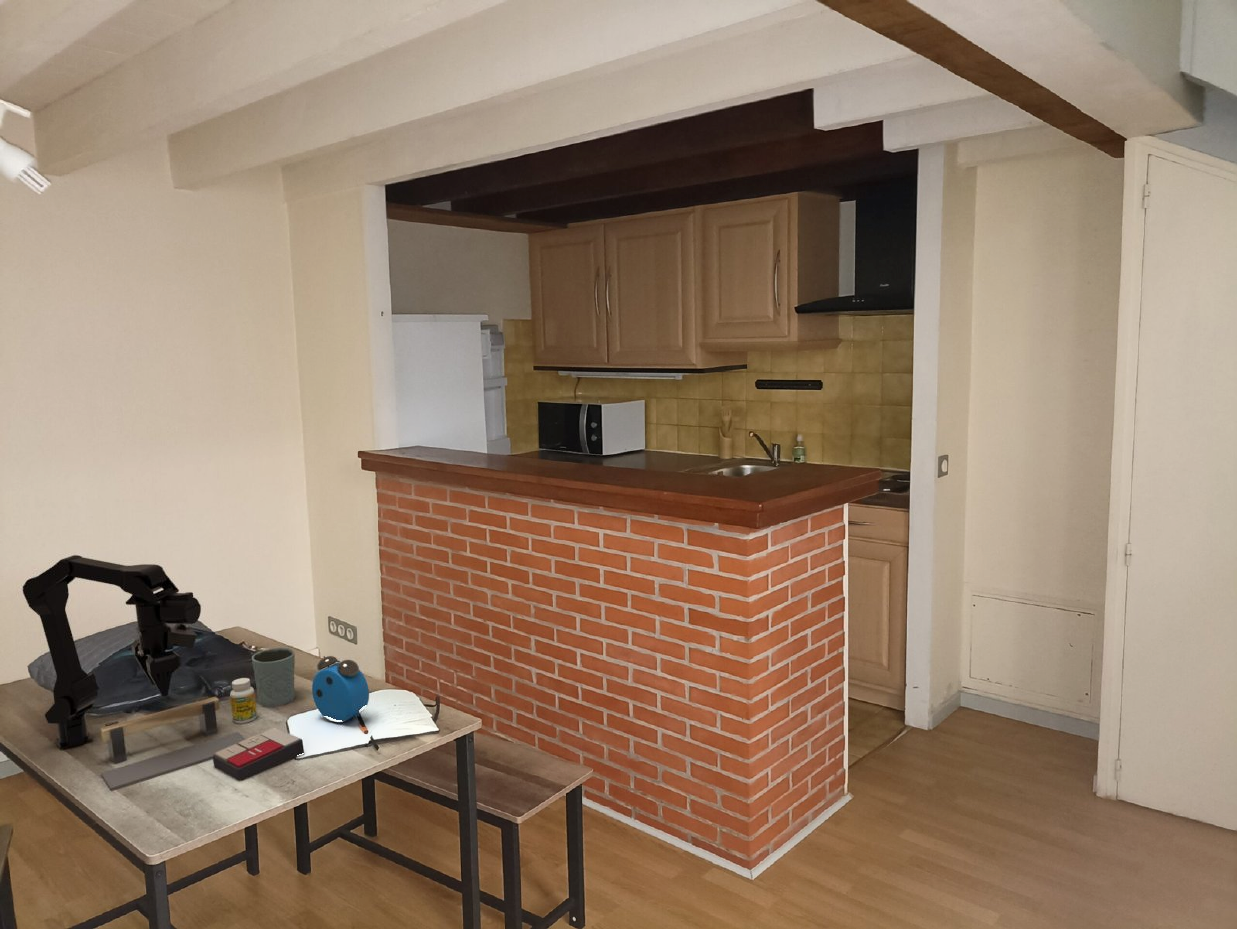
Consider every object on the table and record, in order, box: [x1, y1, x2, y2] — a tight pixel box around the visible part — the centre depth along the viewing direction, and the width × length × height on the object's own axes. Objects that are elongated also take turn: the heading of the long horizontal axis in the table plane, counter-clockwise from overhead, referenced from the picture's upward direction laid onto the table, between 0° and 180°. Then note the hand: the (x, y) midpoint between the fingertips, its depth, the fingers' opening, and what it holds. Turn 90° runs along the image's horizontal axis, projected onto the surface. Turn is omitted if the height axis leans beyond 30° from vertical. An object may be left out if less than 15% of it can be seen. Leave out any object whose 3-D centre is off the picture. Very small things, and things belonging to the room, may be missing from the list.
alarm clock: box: [311, 655, 370, 722], centre depth 214 cm, size 13×6×15 cm, turn 60°
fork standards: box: [104, 696, 219, 765], centre depth 205 cm, size 5×21×8 cm, turn 130°
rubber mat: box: [100, 731, 247, 791], centre depth 197 cm, size 9×28×1 cm, turn 130°
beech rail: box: [99, 696, 221, 743], centre depth 204 cm, size 2×24×2 cm, turn 131°
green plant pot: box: [251, 647, 296, 708], centre depth 227 cm, size 10×10×12 cm
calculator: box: [212, 727, 305, 782], centre depth 195 cm, size 11×4×15 cm
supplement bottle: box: [229, 677, 258, 724], centre depth 217 cm, size 5×5×10 cm
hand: (159, 690), depth 203 cm, fingers open, 9 cm apart
